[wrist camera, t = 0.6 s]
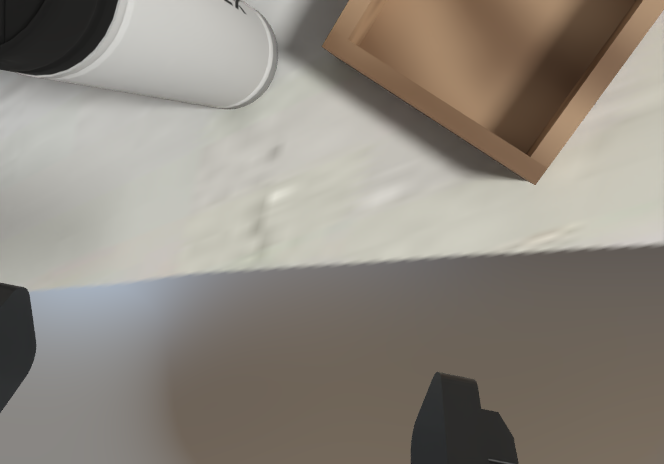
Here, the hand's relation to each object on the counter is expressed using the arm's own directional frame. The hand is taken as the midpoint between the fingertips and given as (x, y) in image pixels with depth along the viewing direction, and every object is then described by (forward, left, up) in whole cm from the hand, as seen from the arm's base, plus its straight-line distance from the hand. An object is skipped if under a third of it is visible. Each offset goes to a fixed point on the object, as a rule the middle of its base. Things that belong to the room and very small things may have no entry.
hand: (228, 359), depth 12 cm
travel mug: (-3, -13, -24) cm, 28 cm away
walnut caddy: (-13, -1, -24) cm, 27 cm away
